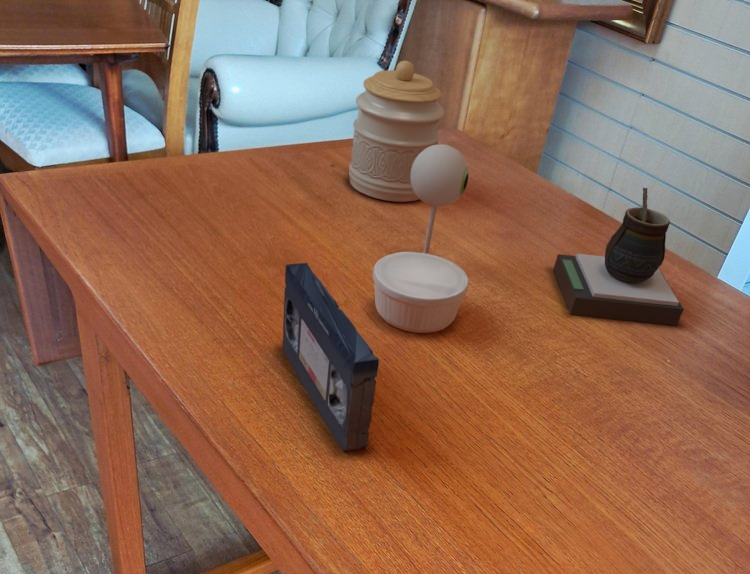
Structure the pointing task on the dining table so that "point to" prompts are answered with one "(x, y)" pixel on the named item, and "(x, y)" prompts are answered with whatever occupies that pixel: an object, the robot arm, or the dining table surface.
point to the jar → (393, 131)
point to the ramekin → (418, 291)
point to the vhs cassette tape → (329, 357)
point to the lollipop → (438, 179)
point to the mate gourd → (637, 244)
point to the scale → (614, 292)
